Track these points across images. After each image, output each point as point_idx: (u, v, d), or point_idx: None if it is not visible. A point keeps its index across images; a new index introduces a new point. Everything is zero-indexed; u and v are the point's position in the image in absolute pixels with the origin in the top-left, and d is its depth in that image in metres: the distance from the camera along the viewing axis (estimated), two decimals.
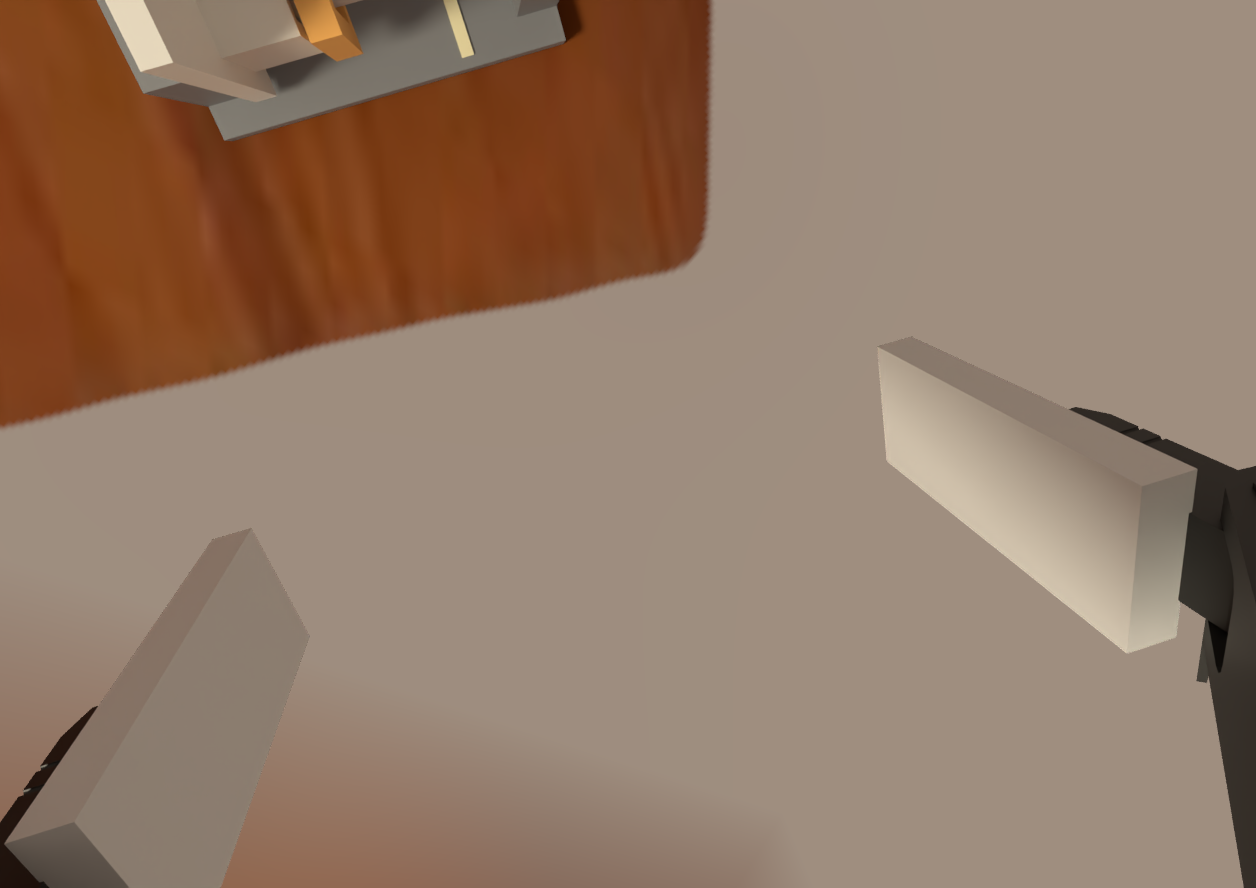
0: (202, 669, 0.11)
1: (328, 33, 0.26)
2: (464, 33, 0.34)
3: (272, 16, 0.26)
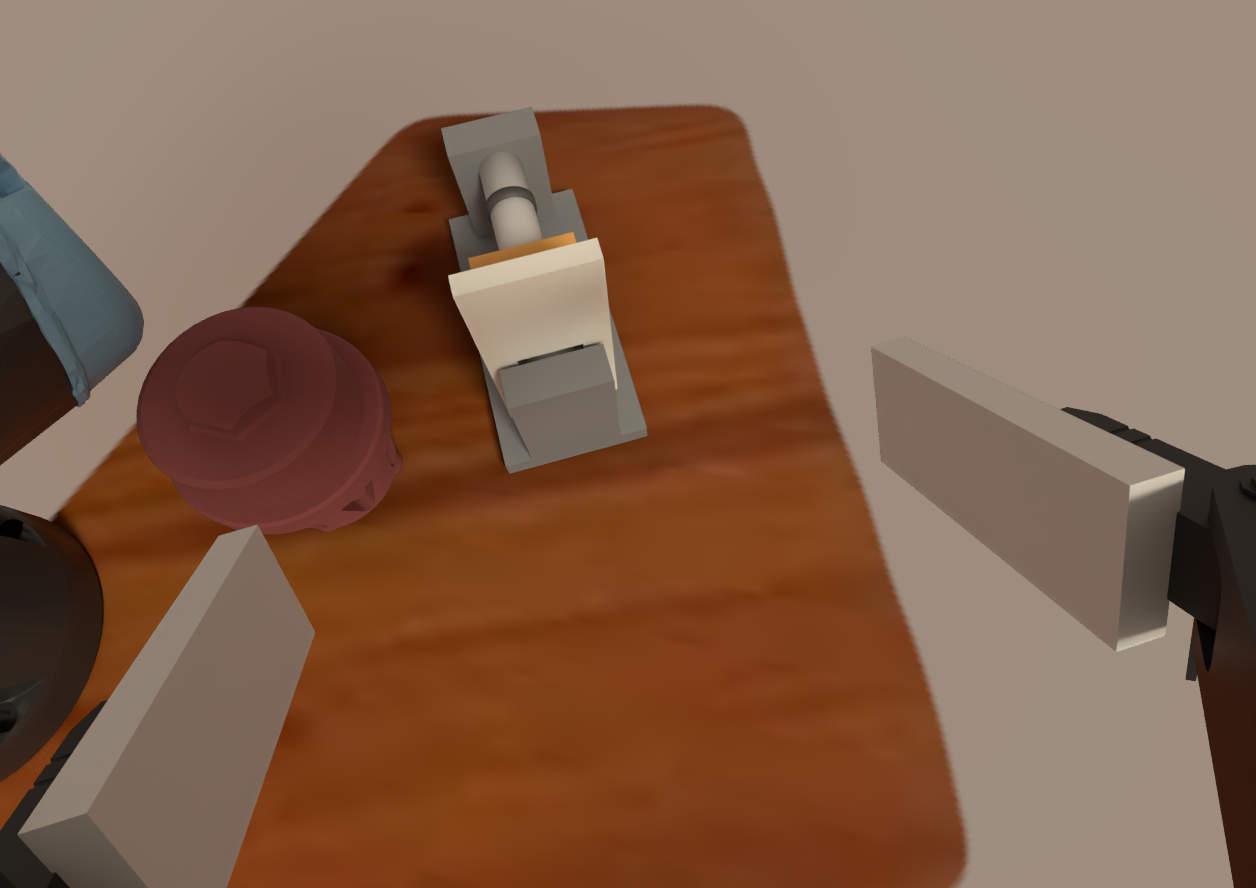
0: (211, 664, 0.11)
1: (572, 240, 0.34)
2: None
3: None
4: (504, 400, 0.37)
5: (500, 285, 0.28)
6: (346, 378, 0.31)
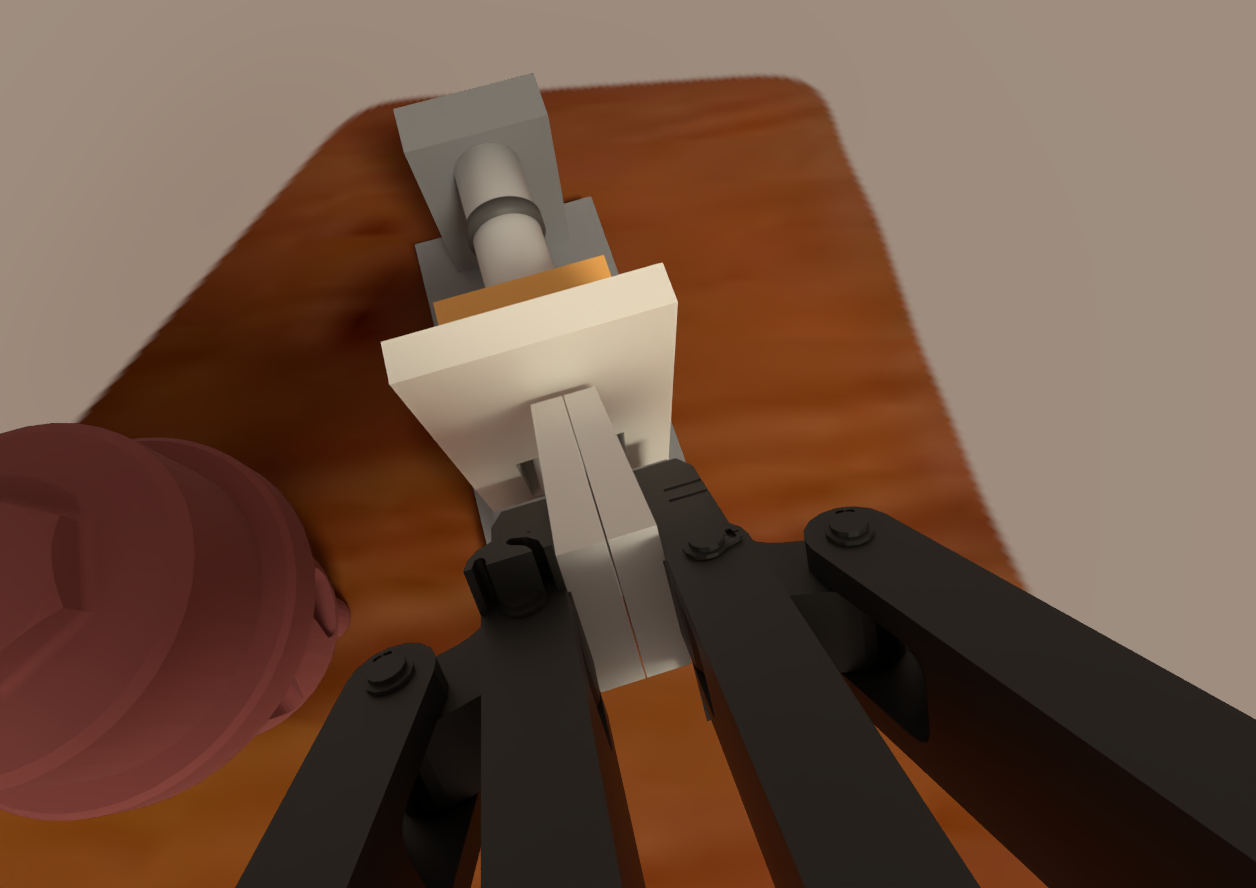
0: None
1: (602, 267, 0.21)
2: None
3: None
4: None
5: (481, 359, 0.14)
6: (222, 546, 0.18)
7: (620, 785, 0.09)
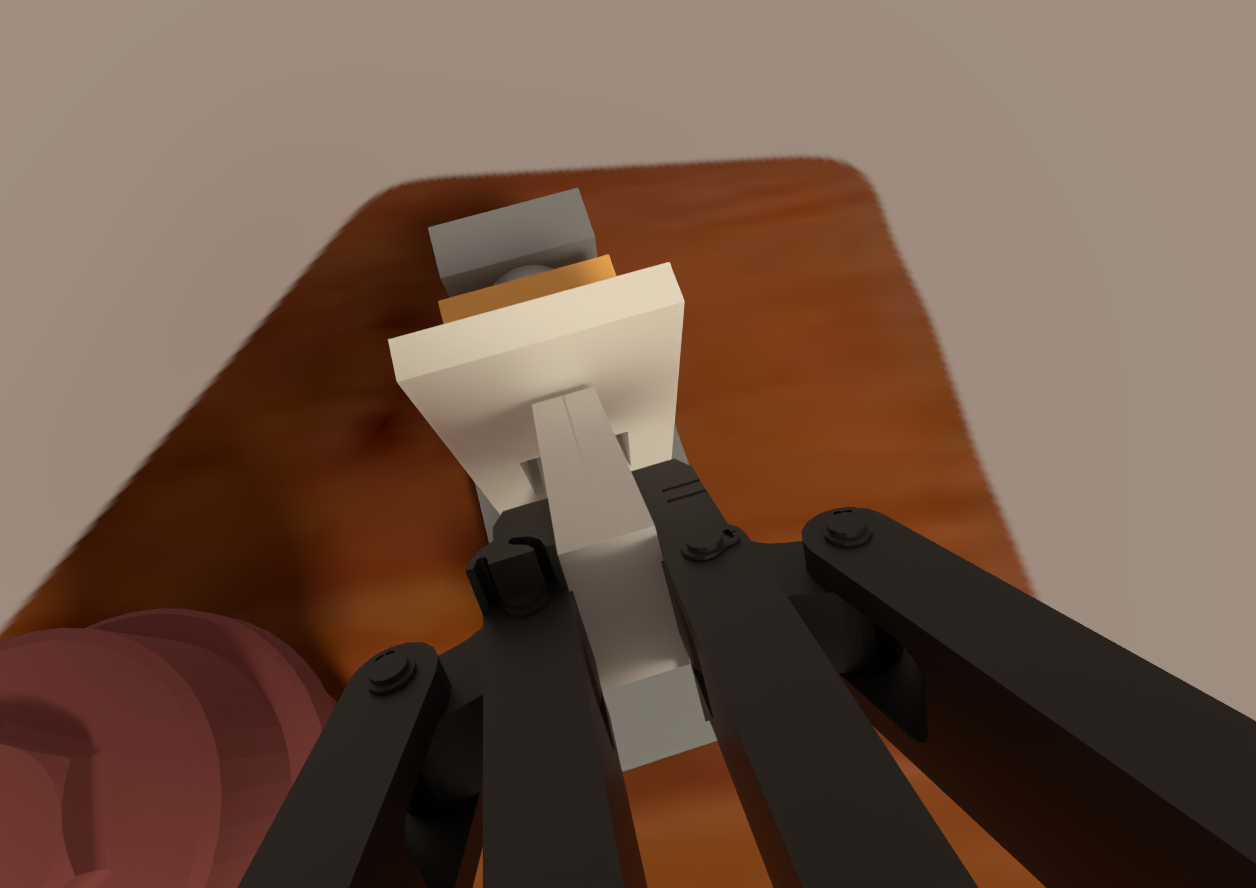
0: None
1: (607, 268, 0.21)
2: None
3: None
4: (499, 510, 0.23)
5: (488, 357, 0.14)
6: (250, 766, 0.16)
7: (622, 785, 0.09)
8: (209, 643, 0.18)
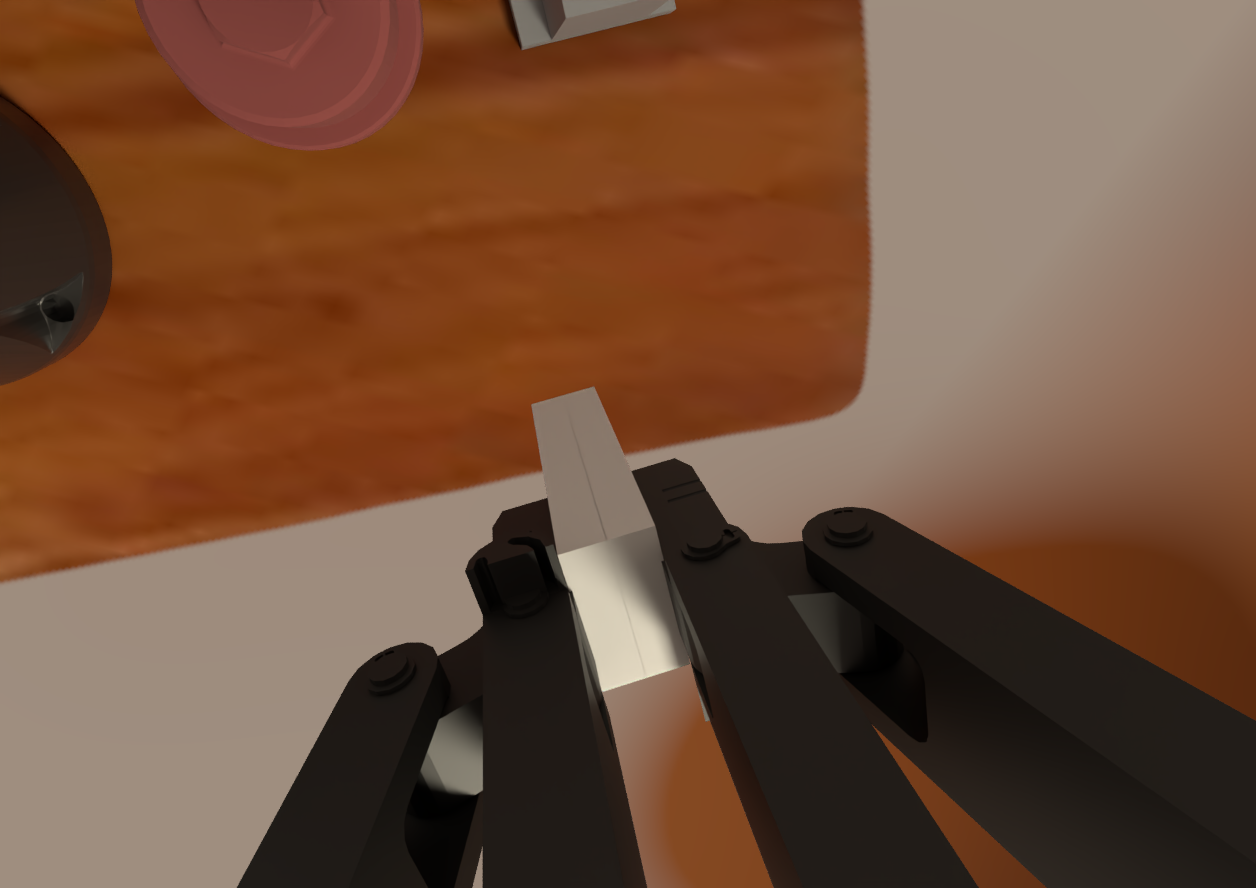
0: None
1: None
2: None
3: None
4: None
5: None
6: None
7: (622, 785, 0.09)
8: None
